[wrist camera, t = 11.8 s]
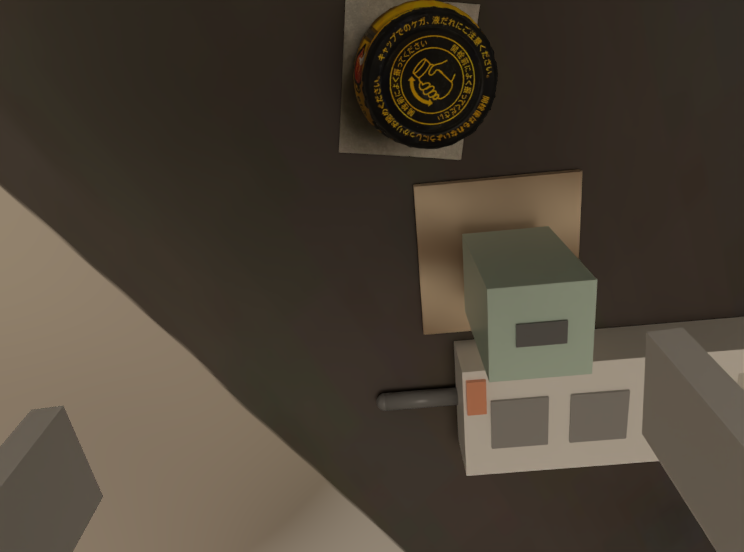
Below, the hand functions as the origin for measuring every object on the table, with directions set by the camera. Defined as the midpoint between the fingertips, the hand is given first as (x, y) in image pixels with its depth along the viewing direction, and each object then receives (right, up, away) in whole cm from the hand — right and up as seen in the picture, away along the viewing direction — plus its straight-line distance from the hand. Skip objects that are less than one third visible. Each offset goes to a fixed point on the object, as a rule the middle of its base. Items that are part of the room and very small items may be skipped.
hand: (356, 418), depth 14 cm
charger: (+8, +4, +24) cm, 26 cm away
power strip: (+13, -4, +28) cm, 31 cm away
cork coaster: (+8, +5, +24) cm, 26 cm away
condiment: (+2, +14, +21) cm, 25 cm away
